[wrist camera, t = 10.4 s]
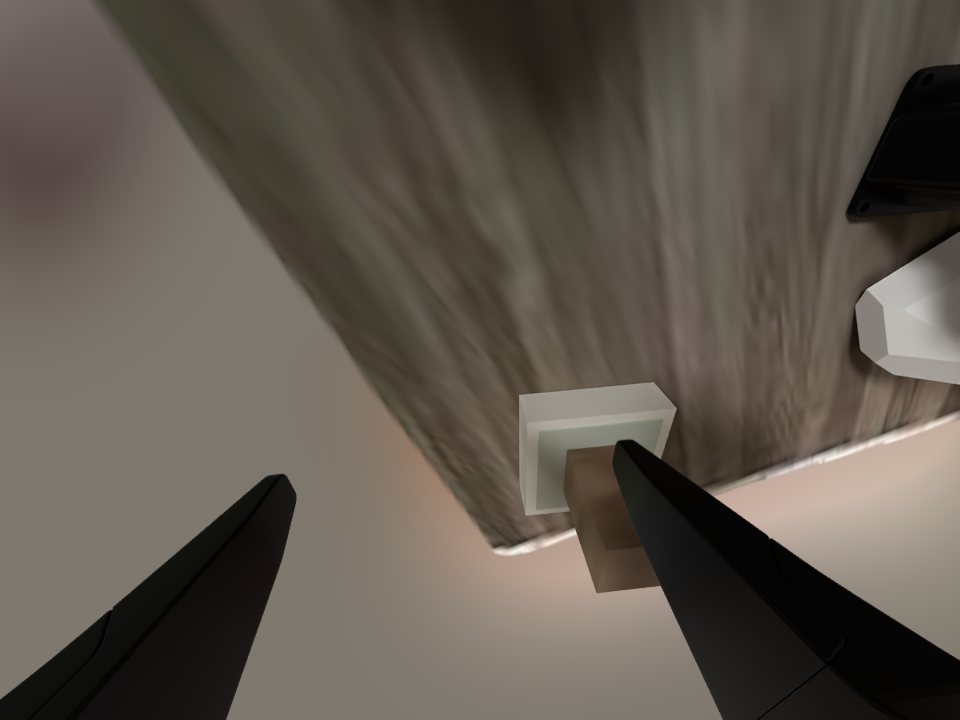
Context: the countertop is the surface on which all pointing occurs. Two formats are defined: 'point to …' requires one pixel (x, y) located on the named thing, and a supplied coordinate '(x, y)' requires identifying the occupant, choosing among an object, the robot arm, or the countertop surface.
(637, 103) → the countertop surface
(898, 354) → the crystal
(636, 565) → the walnut block
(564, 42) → the countertop surface
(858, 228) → the countertop surface
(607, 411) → the base slab
